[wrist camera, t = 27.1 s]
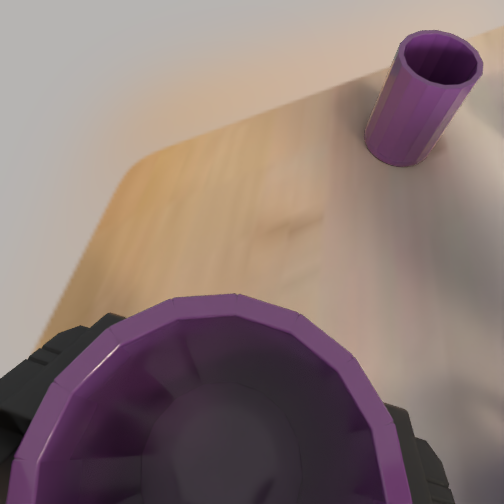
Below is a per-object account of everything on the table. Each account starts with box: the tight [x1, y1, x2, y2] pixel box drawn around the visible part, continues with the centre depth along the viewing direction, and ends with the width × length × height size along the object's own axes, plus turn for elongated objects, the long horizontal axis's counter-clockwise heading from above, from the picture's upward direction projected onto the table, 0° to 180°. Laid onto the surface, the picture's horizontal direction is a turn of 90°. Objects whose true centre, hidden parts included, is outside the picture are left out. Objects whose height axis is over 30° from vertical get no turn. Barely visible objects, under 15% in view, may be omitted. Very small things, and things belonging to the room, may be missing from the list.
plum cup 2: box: [364, 30, 483, 167], centre depth 31 cm, size 6×6×8 cm
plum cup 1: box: [6, 293, 413, 504], centre depth 9 cm, size 6×6×8 cm
